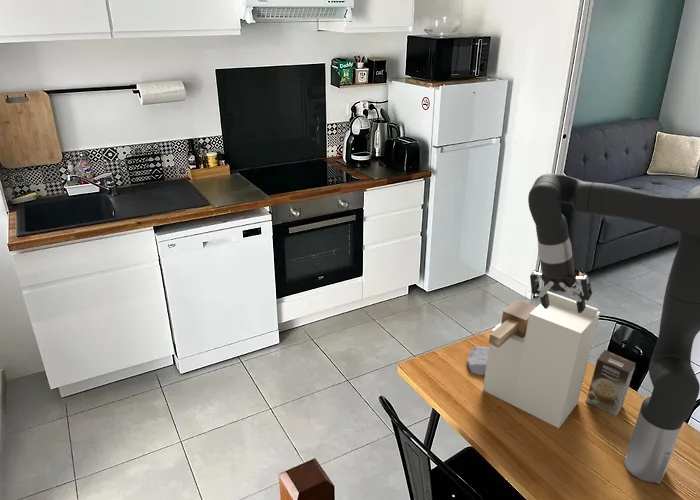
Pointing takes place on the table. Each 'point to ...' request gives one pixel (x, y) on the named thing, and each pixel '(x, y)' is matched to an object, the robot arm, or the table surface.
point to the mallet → (512, 323)
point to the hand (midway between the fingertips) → (563, 309)
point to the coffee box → (610, 382)
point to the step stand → (544, 360)
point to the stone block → (478, 360)
